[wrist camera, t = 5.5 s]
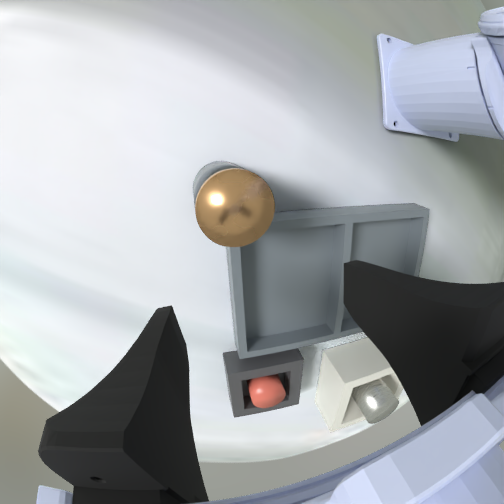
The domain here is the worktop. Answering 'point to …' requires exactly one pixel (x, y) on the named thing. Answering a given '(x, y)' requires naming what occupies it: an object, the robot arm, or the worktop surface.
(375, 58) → the worktop surface
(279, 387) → the tester button
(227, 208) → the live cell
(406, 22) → the worktop surface
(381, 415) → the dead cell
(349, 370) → the cup
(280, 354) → the box
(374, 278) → the robot arm
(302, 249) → the tray
